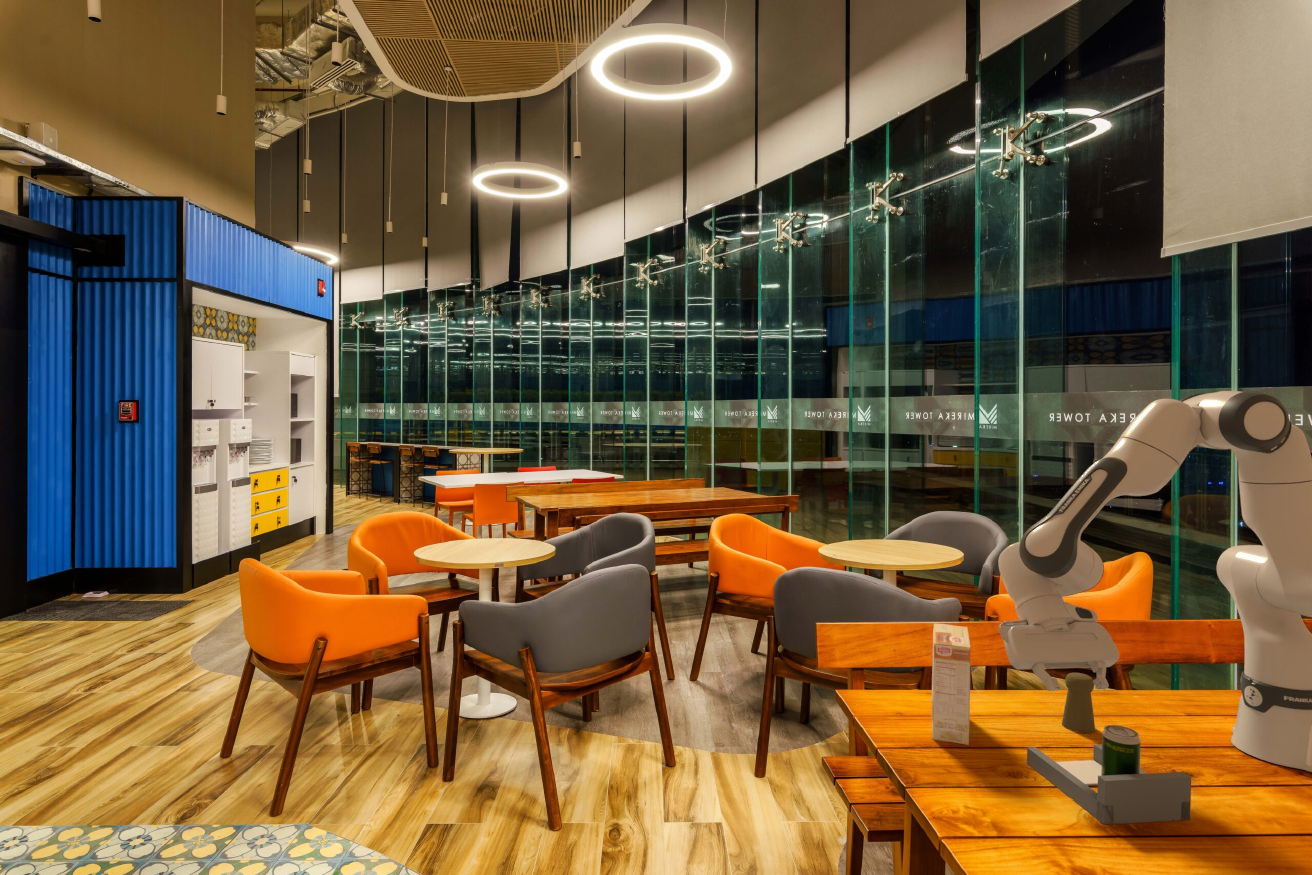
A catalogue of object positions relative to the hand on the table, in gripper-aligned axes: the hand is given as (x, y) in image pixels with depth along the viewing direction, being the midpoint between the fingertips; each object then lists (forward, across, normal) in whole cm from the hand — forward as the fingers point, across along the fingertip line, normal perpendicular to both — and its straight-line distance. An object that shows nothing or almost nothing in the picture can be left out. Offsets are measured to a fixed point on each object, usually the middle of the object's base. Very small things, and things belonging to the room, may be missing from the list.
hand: (1079, 688), depth 131 cm
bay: (+15, 0, +6) cm, 16 cm away
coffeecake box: (-3, -14, +25) cm, 29 cm away
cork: (-2, +13, +23) cm, 27 cm away
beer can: (+18, 0, +4) cm, 19 cm away
